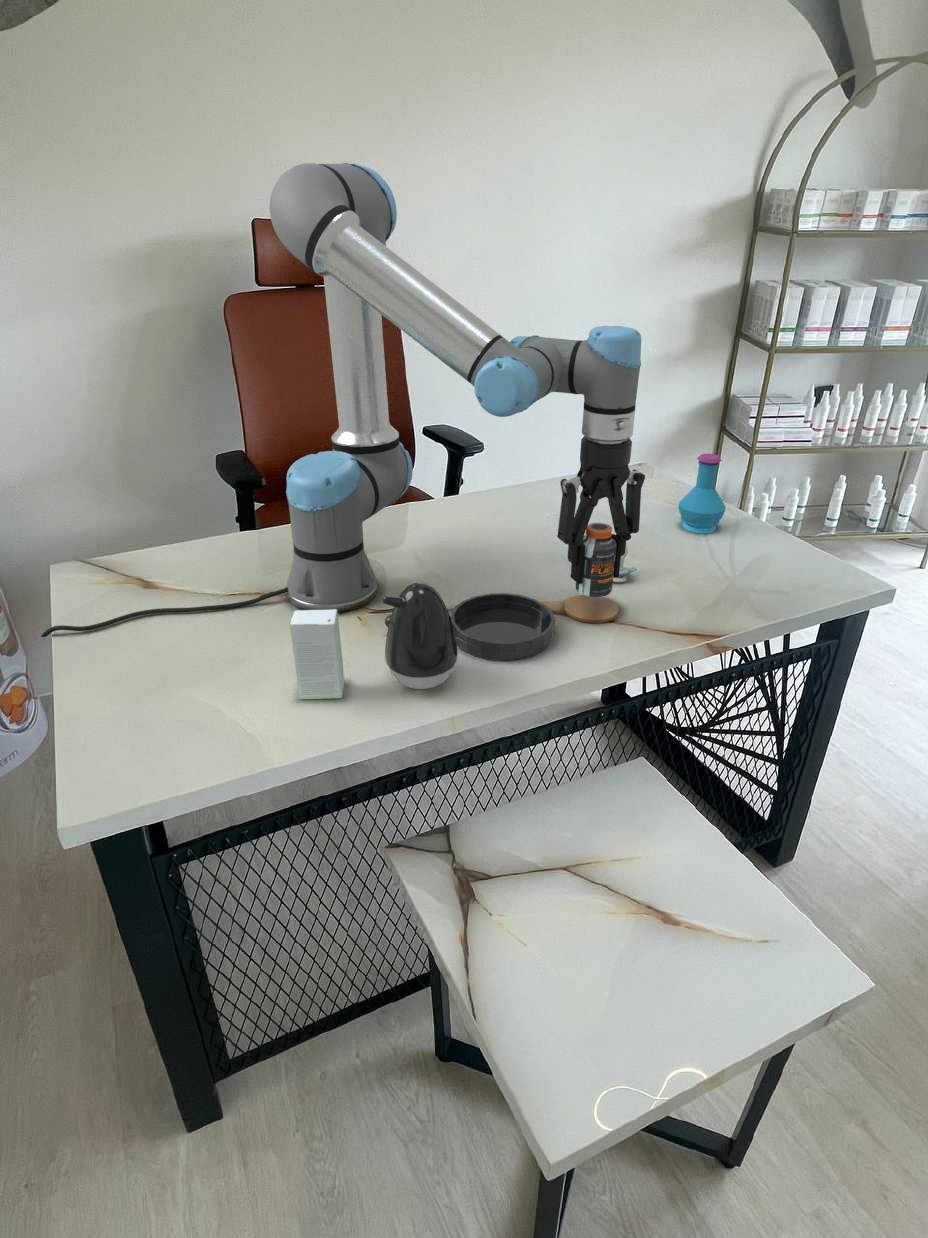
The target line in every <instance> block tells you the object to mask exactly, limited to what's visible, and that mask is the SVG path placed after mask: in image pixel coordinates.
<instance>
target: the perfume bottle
mask: <svg viewBox="0 0 928 1238" xmlns="http://www.w3.org/2000/svg"><path fill="white" fill-rule="evenodd" d="M696 459H697V460H698V468H697V469H698V470H697V477H696V481H695V482H696V483H695V486H693V488H692V489H690V491H689V492H687V494H686V495H685V496H683V498H681V499H680V500H679V502H678V511H679V515H680V520H681V521H682V523H681V525H682V528H683V530H686V531H688V532H690V533H695V534H710V533H714V532H715V531H716V529H717V527H716V526H717V525H718V524H719V523H720V521H721V519H722V518H723V516H724V515H725V512H726V505H725V503H724V501H723V500H722V497H721V496H720V494H719V493H718V491H717V489H716V487H715V485H716V479H717V473H718V467H719V465H720V463H721V462H722V459H721V457H720V456H719V455H718V454H716V453H715V454H714V453H702V454H700V455H699V456H698V457H697V458H696Z"/></svg>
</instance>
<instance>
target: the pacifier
mask: <svg viewBox="0 0 928 1238" xmlns="http://www.w3.org/2000/svg"><path fill="white" fill-rule="evenodd" d="M628 550H629V549H628V546H627V545H626V550H625V554H624V556H621V561H620V570H619V577H613V583H624V582H626V581H627V579H628V578H627V575H628V574H632V573H634V572H637V570H638V567H624V563H625V559H626V557H627V556H628V552H629V551H628Z"/></svg>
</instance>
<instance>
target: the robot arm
mask: <svg viewBox="0 0 928 1238" xmlns="http://www.w3.org/2000/svg"><path fill="white" fill-rule="evenodd" d="M269 216H270V221H271V224H272V227H273V230H274V233H275V234H276V236H277V237H278V239H279V240H280V242H281V243H282V245H283V246H284V247H285V248H286V249H287V250H288V252H289V253H291V254H292V255H293V256H294V257H295V258H296V259H297V260H298V261H300V262H301V263H302V264H303V265H305V266H306V267H307V268H308V269H309V270H311V271H312V272H313V273H315V274H316V275H318V276H319V277H323V285H324V293H325V295H324V296H325V302H326V305H325V306H326V312H327V323H328V332H329V333H328V335H329V342H330V352H331V361H332V371H333V372H332V373H333V381H334V382H333V383H334V390H335V392H334V393H335V400H336V410H337V418H338V419H337V420H338V428H337V429H336V430H335V432H334V433H333V434H332V435H331V446H332V450H326V451H325V450H324V451H318V452H317V453H316V454H315V453H310V454H307V455H305V456H302V457H301V458H299V459H297V460H295V462H293V463H292V464H291V465H290V467H289V469H288V470H287V473H286V490H285V493H286V499H287V504H288V511H289V520H290V529H291V536H292V537H291V538H292V546H293V559H292V562H291V566H290V571H289V575H288V578H287V579H288V580H287V583H286V585H287V586H286V587H284V588H281V589H278V590H275V591H272V592H268V593H265V594H263V595H260V596H258V597H255V598H252V599H248V600H243V601H239V602H232V603H225V604H216V605H204V606H203V605H202V606H192V607H191V606H190V607H165V608H151V609H143V610H140V611H134V612H130V613H127V614H124V615H123V614H122V615H120V616H118V617H113V618H111V619H109V620H105V621H103V622H99V623H95V624H90V625H85V626H84V625H83V626H81V625H80V626H79V625H78V626H76V625H53V626H51V627H49V628H47V629H46V630H45V631H43V633H42V634H41V635H40V638H45V637H48V636H49V635H50V634H52V633H53V632H56V631H70V632H87V631H92V630H97V629H101V628H105V627H107V626H110V625H113V624H117V623H119V622H122V621H125V620H128V619H132V618H136V617H141V616H146V615H155V614H165V613H166V614H167V613H170V614H171V613H193V612H194V613H195V612H205V611H217V610H226V609H233V608H241V607H245V606H249V605H253V604H257V603H259V602H263V601H264V600H268V599H270V598H273V597H276V596H279V595H283V594H286V593H287V599H288V601H289V602H290V603H291V604H292V605H293V606H294V607H296V608H298V609H299V610H332V609H337V611H338V613H343V612H347V611H353V610H355V609H358V608H360V607H363V606H365V605H366V604H368V603H370V602H371V601H372V600H374V598H375V597H376V595H377V593H378V581H377V577H376V575H375V571H374V570H373V568H372V565H371V563H370V560H369V558H368V556H367V553H366V550H365V546H364V545H365V544H364V527H363V523H364V522H365V521H367V520H368V519H370V518H372V517H373V516H374V515H375V514H377V513H380V511H382V510H383V509H385V508H388V507H390V506H392V505H393V504H395V503H396V502H397V501H398V500H399V499H400V498H401V497H402V496H403V495H405V493H406V492H407V491H408V489H409V487H410V485H411V482H412V478H413V474H414V473H413V472H414V470H413V469H414V468H413V462H412V458H411V456H410V453H409V451H408V450H407V449H406V448H404V447H405V445H404V444H403V443H402V442H401V441H400V433H399V431H398V430H396V428H394V427H393V426H392V425H391V423H390V415H389V400H388V389H387V375H386V361H385V349H384V347H385V345H384V333H383V319H382V317H384V318H385V319H387V320H388V321H389V322H390V323H391V324H393V325H394V326H395V327H397V328H398V329H399V330H401V331H402V332H403V333H404V334H406V335H407V336H408V337H410V338H411V339H413V340H414V341H415V342H416V343H417V344H419V345H420V346H421V347H422V348H424V349H425V350H426V351H428V352H429V353H430V354H432V355H433V356H434V357H436V358H437V359H438V360H439V361H440V362H442V363H443V364H445V365H446V366H447V367H449V368H450V369H451V370H453V371H454V372H455V373H456V374H458V375H459V376H460V377H461V378H463V379H464V380H465V381H466V382H468V383H469V384H470V385H472V387H474V388H473V389H474V395H475V397H476V399H477V401H478V403H479V405H480V407H481V409H483V410H484V411H485V412H487V413H488V414H490V415H492V416H494V417H499V418H506V417H512V416H514V415H516V414H519V413H522V412H524V411H526V410H528V409H529V408H530V407H531V406H532V405H534V404H535V403H536V402H537V401H539V400H541V399H543V398H545V397H546V396H548V395H549V394H551V393H561V394H571V395H582V396H583V410H582V411H583V412H582V423H581V434H582V435H583V437H582V438H581V439H580V451H579V462H580V463H579V465H580V466H579V470H578V472H577V474H576V476H574V477H572V478H570V479H567V478H562V479H560V482H559V485H560V490H561V493H562V495H561V503H560V511H559V518H558V527H557V535H556V536H557V538H558V539H559V540H560V541H561V542H562V543H564V545H567V546H568V547H567V561H568V562H569V563H570V565H571V566H570V578H571V579H572V581H574V582H575V583H576V582H577V583H578V584H581V583H583V570H584V558H585V545H583V544H582V543H581V542H582V539H583V537H584V536H585V535H586V528H587V526H588V524H590V520H591V517H592V515H593V512H594V509H595V507H597V505H598V503H599V500H601V499H604V498H606V499H607V501H608V506H609V507H608V508H609V510H610V515H611V520H612V525H613V530H614V533H612V536H611V537H612V538H613V539H614V540H615V541H616V544H617V546H616V557H615V566H614V574H613V577H619V570H620V561H621V556H624V554H625V550H626V546H627V541H630V540H631V539H632V534H637V533H638V532H639V530H640V521H641V519H640V516H641V501H642V487H643V485H644V484H645V483H644V482H645V480H646V475H645V474H644V473H642V472H641V471H639V470H638V469H630V467H629V464H630V463H631V457H632V449H633V448H632V445H633V441H632V439H631V437H632V436H633V433H634V425H635V424H634V423H635V414H636V406H637V405H636V403H637V396H638V395H637V394H638V388H639V387H638V386H639V380H640V379H639V378H640V371H641V366H642V360H641V356H642V355H641V354H642V335H641V333H640V331H638V330H637V329H636V328H633V327H630V326H622V325H601V326H600V325H599V326H595V327H593V328H591V329H590V330H589V333H588V337H587V339H584V340H579V339H568V338H567V339H566V338H557V337H547V336H546V337H545V336H540V335H531V336H530V335H517V336H515V337H513V338H512V339H511V340H510V341H509V340H508V339H506V338H505V337H504V336H502V334H500V333H499V332H498V331H496V329H494V328H493V327H491V326H490V325H489V324H488V323H486V322H485V321H483V320H482V319H481V318H480V317H478V315H476V314H474V313H473V312H472V311H471V310H469V309H468V308H467V307H465V306H464V305H463V304H461V303H460V302H459V301H457V300H456V299H455V298H454V297H452V296H451V295H450V294H448V293H447V292H446V291H445V290H443V289H442V288H441V287H440V286H438V285H437V284H436V283H434V282H433V281H432V280H430V279H429V278H428V277H426V276H425V275H424V274H422V273H421V272H420V271H419V270H417V269H416V268H414V266H412V265H411V264H410V263H409V262H407V261H406V260H404V258H402V257H401V256H399V255H398V254H397V253H395V252H394V251H393V250H392V249H391V248H389V247H387V241H388V240H389V239H390V237H391V236H392V234H393V233H394V231H395V228H396V226H397V225H396V224H397V218H398V217H397V216H398V210H397V204H396V200H395V197H394V193H393V191H392V189H391V188H390V186H389V184H388V183H387V180H385V179H384V178H383V177H382V176H381V175H380V174H379V173H378V172H377V171H375V170H374V169H372V168H370V167H368V166H365V165H360V164H356V163H348V162H342V163H316V162H307V163H306V162H304V163H299V164H297V165H293V166H292V167H290V168H289V169H287V170H286V171H284V172H283V173H282V174H280V176H279V178H277V180H276V181H275V184H274V185H273V187H272V191H271V194H270V198H269ZM625 483H626V487H625V507H624V503H623V501H624V494H623V491H622V487H623V486H624V484H625ZM580 486H581V488H582V489H581V492H580V495H579V503H578V506H577V500H578V499H577V497H578V496H577V494H578V493H579V487H580Z"/></svg>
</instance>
